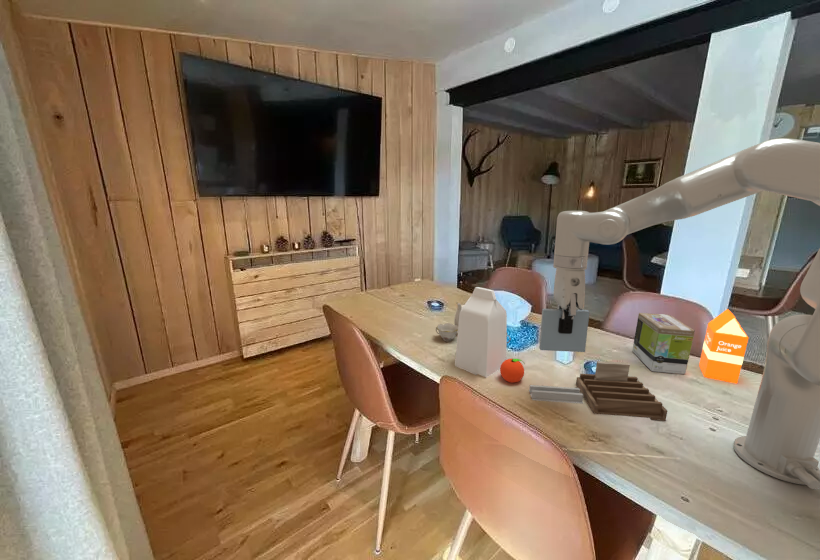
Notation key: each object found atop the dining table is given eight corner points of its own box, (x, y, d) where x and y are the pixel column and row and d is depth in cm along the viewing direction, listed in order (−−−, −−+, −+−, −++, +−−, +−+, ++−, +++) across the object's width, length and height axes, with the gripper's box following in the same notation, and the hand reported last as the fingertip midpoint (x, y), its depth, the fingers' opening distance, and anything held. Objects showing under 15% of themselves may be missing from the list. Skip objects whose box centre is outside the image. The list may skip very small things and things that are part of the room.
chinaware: (432, 348, 129) (432, 307, 124) (438, 327, 145) (438, 290, 139) (510, 355, 123) (513, 313, 118) (508, 333, 139) (511, 294, 133)
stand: (583, 405, 91) (584, 396, 91) (532, 401, 93) (532, 393, 92) (576, 394, 96) (578, 386, 95) (528, 391, 98) (529, 383, 97)
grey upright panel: (584, 352, 89) (589, 311, 87) (540, 350, 91) (543, 310, 88) (583, 349, 91) (587, 309, 88) (539, 347, 92) (542, 308, 90)
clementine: (516, 372, 108) (518, 351, 106) (531, 383, 102) (533, 361, 100) (494, 377, 105) (496, 356, 104) (508, 389, 99) (510, 366, 97)
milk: (454, 365, 113) (457, 288, 106) (475, 354, 120) (478, 282, 114) (486, 379, 104) (490, 296, 98) (506, 366, 112) (511, 289, 106)
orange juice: (729, 371, 109) (744, 310, 104) (737, 384, 101) (754, 319, 96) (698, 365, 112) (710, 306, 108) (703, 377, 105) (717, 314, 100)
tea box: (687, 375, 106) (696, 330, 103) (650, 372, 108) (658, 327, 105) (662, 353, 121) (670, 313, 117) (631, 351, 123) (637, 311, 119)
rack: (665, 420, 85) (671, 388, 83) (593, 415, 87) (598, 384, 85) (637, 389, 98) (642, 361, 96) (575, 385, 101) (579, 358, 98)
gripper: (598, 268, 77) (590, 344, 82) (575, 256, 92) (569, 321, 96) (563, 268, 78) (556, 343, 83) (546, 256, 93) (541, 321, 98)
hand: (563, 331), depth 90 cm, fingers closed on grey upright panel, 1 cm apart
